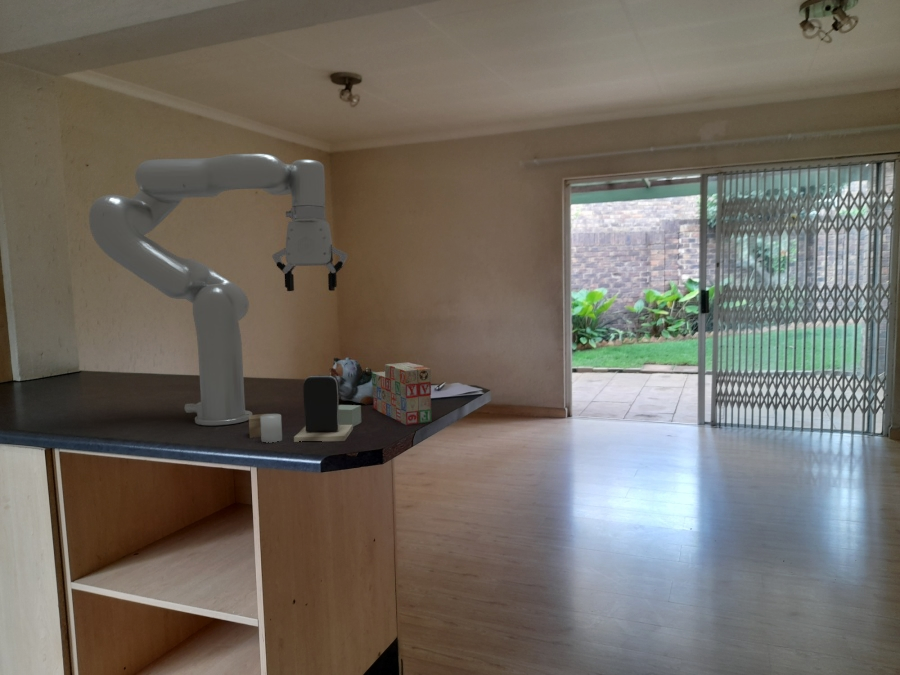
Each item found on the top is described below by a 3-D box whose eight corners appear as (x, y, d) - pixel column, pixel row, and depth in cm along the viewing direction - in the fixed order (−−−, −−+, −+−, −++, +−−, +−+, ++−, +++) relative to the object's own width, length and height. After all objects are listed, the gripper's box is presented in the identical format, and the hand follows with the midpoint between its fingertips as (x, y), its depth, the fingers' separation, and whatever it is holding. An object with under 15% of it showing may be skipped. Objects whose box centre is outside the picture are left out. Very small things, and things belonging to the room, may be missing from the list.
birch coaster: (294, 442, 121) (293, 437, 121) (306, 430, 131) (305, 425, 131) (344, 440, 121) (344, 435, 121) (352, 429, 131) (352, 424, 131)
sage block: (331, 427, 134) (330, 409, 134) (340, 422, 139) (340, 404, 139) (352, 428, 133) (351, 409, 133) (361, 423, 138) (360, 405, 138)
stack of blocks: (372, 409, 153) (370, 360, 152) (396, 406, 156) (394, 358, 155) (406, 425, 134) (404, 369, 133) (432, 422, 137) (430, 367, 136)
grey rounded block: (258, 443, 121) (257, 418, 121) (264, 438, 125) (263, 413, 125) (279, 442, 121) (277, 417, 121) (284, 437, 125) (283, 413, 125)
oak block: (249, 438, 126) (248, 419, 125) (249, 434, 130) (248, 415, 129) (270, 436, 127) (269, 417, 127) (269, 432, 131) (268, 413, 130)
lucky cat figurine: (380, 405, 156) (352, 360, 152) (341, 422, 160) (313, 378, 156) (392, 380, 170) (367, 337, 166) (356, 396, 173) (331, 354, 170)
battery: (342, 428, 128) (340, 373, 127) (338, 432, 124) (336, 376, 123) (308, 428, 128) (306, 374, 127) (304, 433, 124) (301, 377, 123)
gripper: (266, 214, 138) (268, 291, 139) (342, 213, 137) (344, 290, 138) (277, 218, 145) (279, 291, 146) (349, 217, 144) (351, 290, 146)
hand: (311, 290), depth 142 cm, fingers open, 9 cm apart
